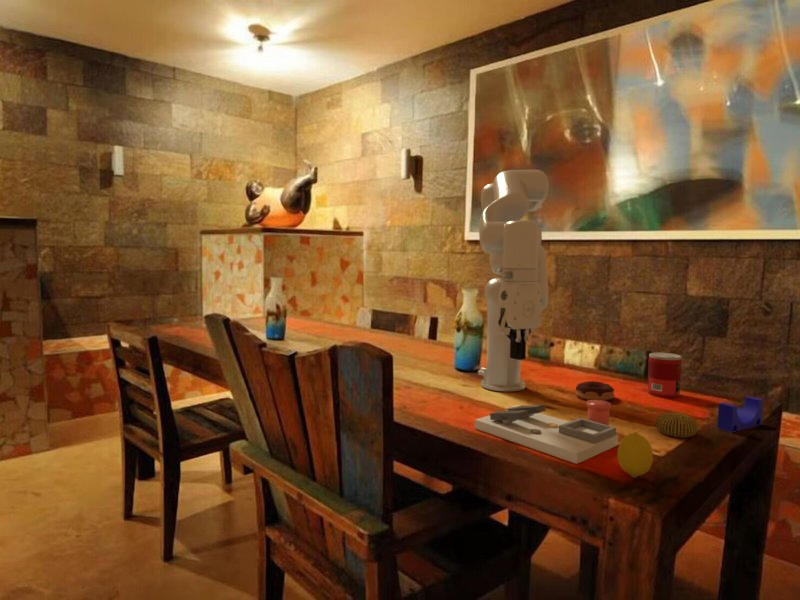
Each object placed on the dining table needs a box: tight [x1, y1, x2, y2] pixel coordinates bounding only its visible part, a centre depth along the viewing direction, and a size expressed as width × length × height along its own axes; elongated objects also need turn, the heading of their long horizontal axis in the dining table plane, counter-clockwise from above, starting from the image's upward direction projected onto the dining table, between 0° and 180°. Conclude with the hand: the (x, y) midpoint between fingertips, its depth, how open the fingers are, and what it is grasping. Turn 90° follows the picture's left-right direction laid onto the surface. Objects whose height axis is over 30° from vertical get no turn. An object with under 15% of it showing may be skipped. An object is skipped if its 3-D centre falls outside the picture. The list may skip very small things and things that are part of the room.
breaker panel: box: [474, 409, 619, 465], centre depth 110 cm, size 25×15×4 cm, turn 40°
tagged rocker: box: [506, 404, 546, 417], centre depth 116 cm, size 8×3×3 cm, turn 39°
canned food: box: [646, 352, 683, 399], centre depth 144 cm, size 8×8×11 cm
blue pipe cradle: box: [717, 396, 764, 434], centre depth 118 cm, size 12×4×6 cm, turn 119°
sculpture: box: [655, 412, 699, 438], centre depth 113 cm, size 8×4×8 cm
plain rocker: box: [489, 410, 529, 424], centre depth 112 cm, size 8×3×2 cm, turn 39°
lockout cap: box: [586, 400, 612, 426], centre depth 115 cm, size 5×5×6 cm
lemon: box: [616, 431, 654, 479], centre depth 90 cm, size 6×6×8 cm
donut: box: [575, 380, 615, 402], centre depth 141 cm, size 10×10×4 cm
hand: (517, 358), depth 118 cm, fingers closed
